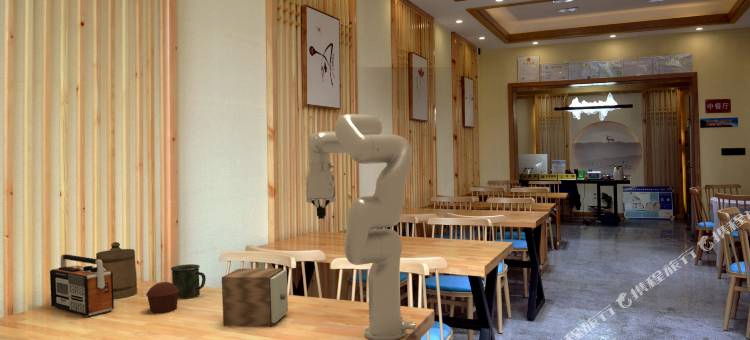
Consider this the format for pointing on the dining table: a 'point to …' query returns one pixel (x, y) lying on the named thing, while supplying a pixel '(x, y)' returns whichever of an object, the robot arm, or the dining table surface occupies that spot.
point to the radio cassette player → (82, 287)
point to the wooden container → (120, 269)
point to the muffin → (163, 297)
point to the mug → (187, 280)
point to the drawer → (279, 296)
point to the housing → (247, 297)
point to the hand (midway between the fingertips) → (321, 218)
